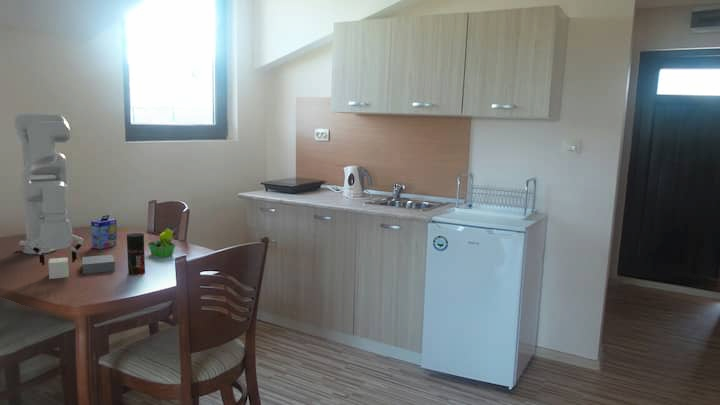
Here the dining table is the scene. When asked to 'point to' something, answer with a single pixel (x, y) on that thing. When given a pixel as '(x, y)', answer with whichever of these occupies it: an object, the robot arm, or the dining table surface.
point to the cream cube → (58, 268)
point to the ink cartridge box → (104, 232)
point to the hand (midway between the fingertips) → (58, 263)
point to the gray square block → (98, 264)
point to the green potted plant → (163, 245)
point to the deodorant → (136, 254)
